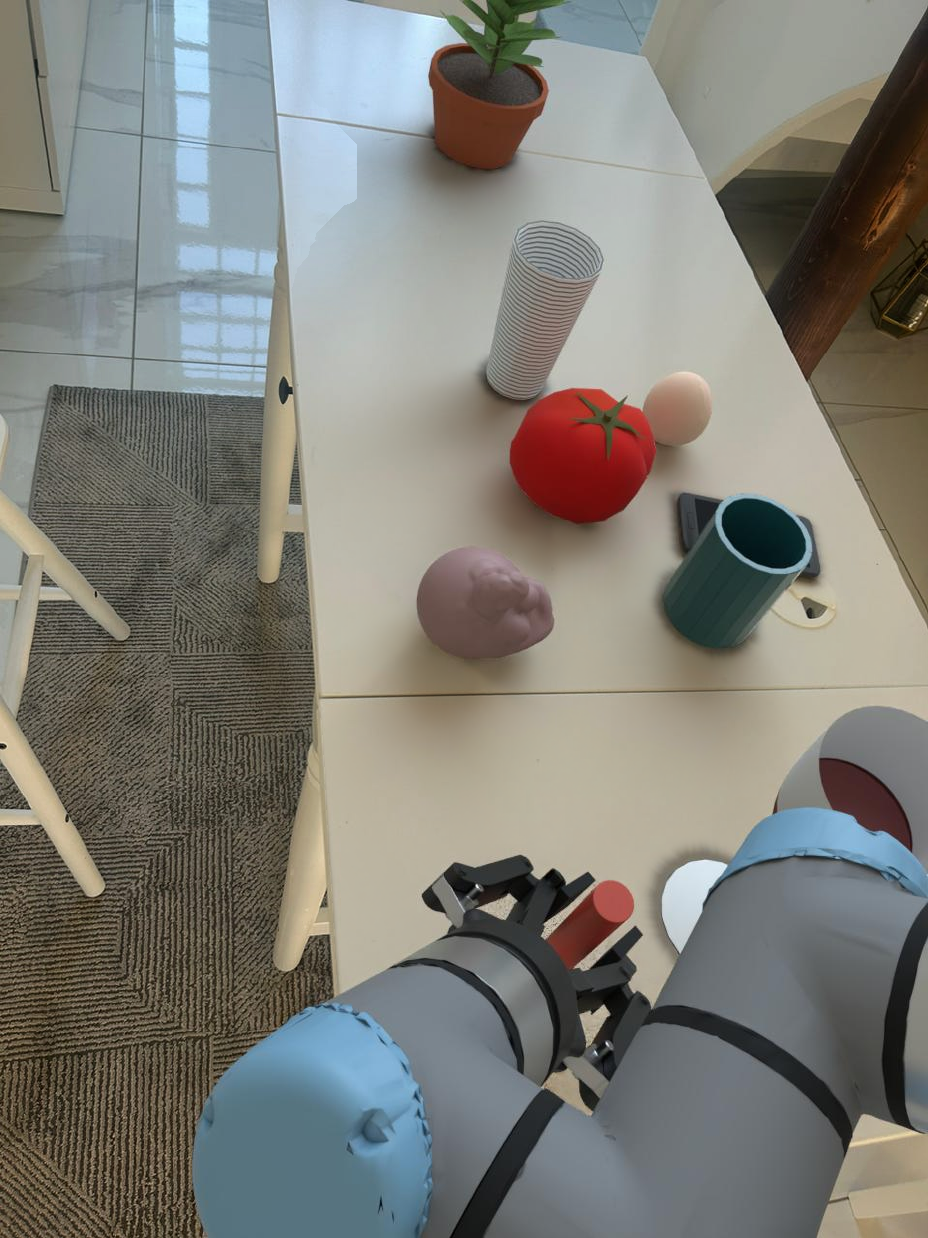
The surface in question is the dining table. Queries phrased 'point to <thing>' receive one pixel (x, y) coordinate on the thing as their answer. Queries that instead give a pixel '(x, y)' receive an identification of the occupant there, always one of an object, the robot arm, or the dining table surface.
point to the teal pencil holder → (736, 570)
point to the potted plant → (489, 84)
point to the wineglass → (836, 796)
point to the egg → (678, 408)
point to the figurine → (482, 605)
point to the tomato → (582, 454)
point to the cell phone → (701, 509)
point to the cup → (540, 304)
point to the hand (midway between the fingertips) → (600, 916)
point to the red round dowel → (592, 922)
